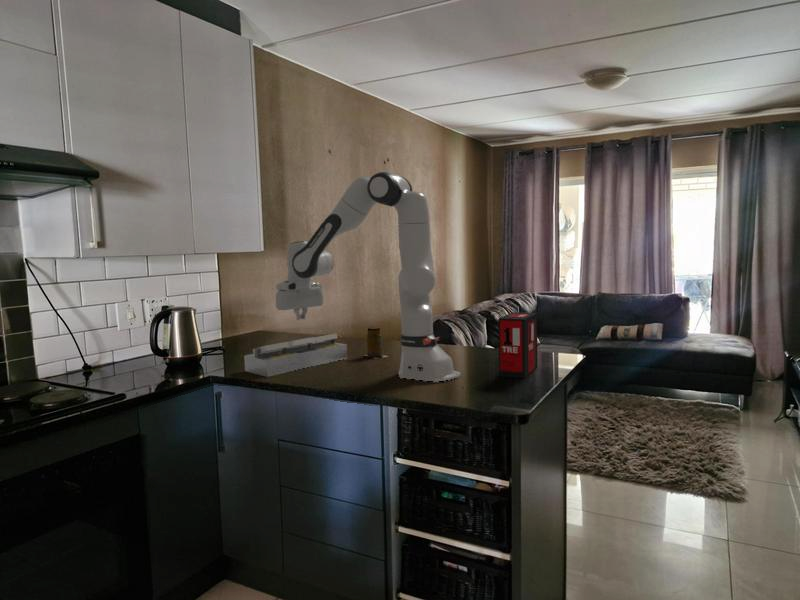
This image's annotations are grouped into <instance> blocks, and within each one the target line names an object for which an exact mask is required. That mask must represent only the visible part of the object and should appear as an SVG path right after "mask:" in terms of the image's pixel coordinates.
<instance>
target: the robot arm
mask: <svg viewBox="0 0 800 600" xmlns="http://www.w3.org/2000/svg"><path fill="white" fill-rule="evenodd" d="M377 203H378V204H380V205H384V206H388V207H394V209H395V211H396V212H397V224H398V225H397V227H398V229H397V231H398V233H397V234H398V249H399V255H400V257H399V258H400V263H401V264H400V265H401V269H400V270H399V273H398V277H397V280H398V293H399V305H400V314H401V317H400V318H401V334H400V345H401V354H400V355H401V357H400V365H399V369H398V372H397V373H398V378H399V377H400V378H399V379H403V378H406V380H411V379H415V380H414V381H419V380H423V381H422V382H427V381H433V382H432V383H440V382H439V381H444V382H447V381H446V380H448V381H452V380H454V378H455V379H457V378H459V377H460V376H461V372H459V371H456V370H454V364H453V360H452V357H451V356H450V355H448V354H447V353H446V352H445V351H444V350H443V349H442V348H441V347H440V346H439V345H438V341H440V336H438V337H436V335H435V334H434V326H433V325H434V321H433V319H434V318H433V307H432V303H431V294H430V293H431V292H432V291H433V289H434V288H435V284H436V278H435V268H434V267H435V266H434V260H433V254H432V246H431V242H432V241H431V221H430V220H431V219H430V211H429V204H428V199H427V197H426V196H425V194H423V193H421V192H420V191H415V190H414V191H413V186H412V184H411V183H410V181H409V180H408V179H407V178H405V177H404V176H401V175H398V174H396V173H392V172H387V171H386V172H385V171H380V172H377V173H375V174H374V175H372V176H371V177H368V176H364V175H363V176H358V177H356V179H354V181H353V182H352V183H351V184H350V185H349V187H348V188H347V189H346V190H345V192H344V193H343V194H342V196H341V198H340V200H339V201H338V202H337V204H336V205H335V207H334V208H333V209H332V211H331V212H330V214H329V215H328V216H327V217H326V218H325V219H324V220H323V222H322V223H321V224H320V225H319V227H318V228H317V230H316V231H315V232H314V233H313V235H312V237H310V239H309V240H308V241H306V240H299V241H295V242H291V243H289V245H288V247H287V252H286V266H287V269H288V273H287V279H286V280H284V281H282V282H279V283H277V284H276V290H278V291H276V294H275V308H276V309H277V310H279V311H289V310H293V313H294V314H295V316H296V321H303V320H306V316H307V313H308V308H313V307H321V306H323V305H324V295H323V289H322V285H321V283H319V282H312V278H313V277H319V276H325V275H327V274H329V273H330V272H332V270H333V269H334V266H335V265H334V264H335V263H334V256H333V255H332V253H330V251H328V250H326V249H327V248H328V246H329V245H330V243H331V242H332V241H333V240H334V239H335V238H337V236H339V235H342V234H344V233H346V232H349V231H352V230H355V229H357V228H358V227H359V226H360V225H361V224H362V223H363V222H364V221H365V219H366V217H367V216H368V215H369V213H370V211H372V209H373V207H374V206H375V205H376V204H377ZM300 312H301V313H300ZM451 379H452V380H451Z"/></svg>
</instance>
